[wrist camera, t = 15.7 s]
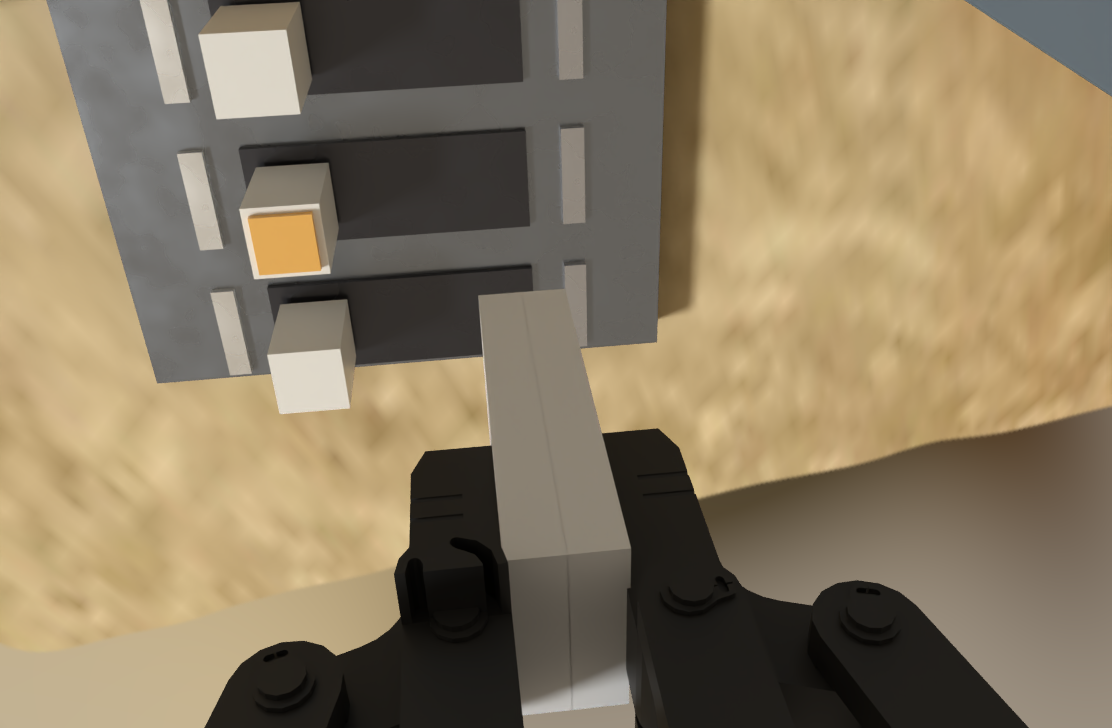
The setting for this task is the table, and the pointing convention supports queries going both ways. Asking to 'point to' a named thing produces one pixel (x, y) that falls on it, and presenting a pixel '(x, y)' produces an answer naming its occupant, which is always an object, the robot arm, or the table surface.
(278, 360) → the block
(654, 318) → the panel
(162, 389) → the table surface
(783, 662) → the robot arm
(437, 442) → the table surface
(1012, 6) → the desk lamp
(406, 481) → the table surface
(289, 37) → the block
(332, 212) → the block
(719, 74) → the table surface
